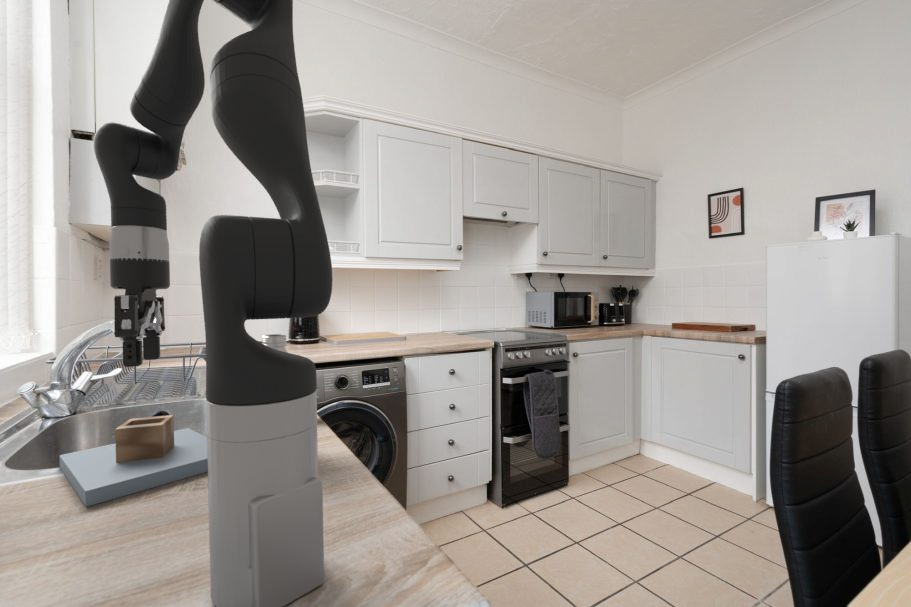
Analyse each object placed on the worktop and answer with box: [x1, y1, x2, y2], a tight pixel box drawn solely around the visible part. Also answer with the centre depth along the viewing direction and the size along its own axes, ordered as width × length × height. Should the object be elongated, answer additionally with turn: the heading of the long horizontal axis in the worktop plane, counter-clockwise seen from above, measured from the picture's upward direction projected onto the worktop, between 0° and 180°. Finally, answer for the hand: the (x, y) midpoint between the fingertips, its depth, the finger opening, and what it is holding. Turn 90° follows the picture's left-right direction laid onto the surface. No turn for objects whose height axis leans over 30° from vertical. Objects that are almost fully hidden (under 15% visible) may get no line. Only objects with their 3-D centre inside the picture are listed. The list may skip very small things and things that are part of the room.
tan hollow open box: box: [114, 414, 175, 463], centre depth 68 cm, size 6×6×5 cm
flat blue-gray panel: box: [59, 427, 208, 508], centre depth 68 cm, size 20×18×6 cm
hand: (143, 362), depth 68 cm, fingers open, 8 cm apart
